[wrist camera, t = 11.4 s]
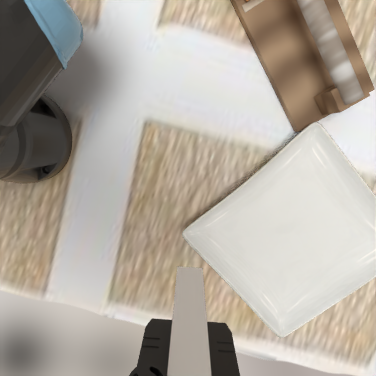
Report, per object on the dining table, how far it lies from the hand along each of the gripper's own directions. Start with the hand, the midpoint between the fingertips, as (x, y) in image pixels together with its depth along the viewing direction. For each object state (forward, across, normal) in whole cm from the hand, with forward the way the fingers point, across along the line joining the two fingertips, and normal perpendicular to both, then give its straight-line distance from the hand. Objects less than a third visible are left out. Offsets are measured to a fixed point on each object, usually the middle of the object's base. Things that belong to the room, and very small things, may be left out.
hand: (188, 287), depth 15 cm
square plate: (+27, +18, -8) cm, 34 cm away
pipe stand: (+28, +13, +24) cm, 39 cm away
